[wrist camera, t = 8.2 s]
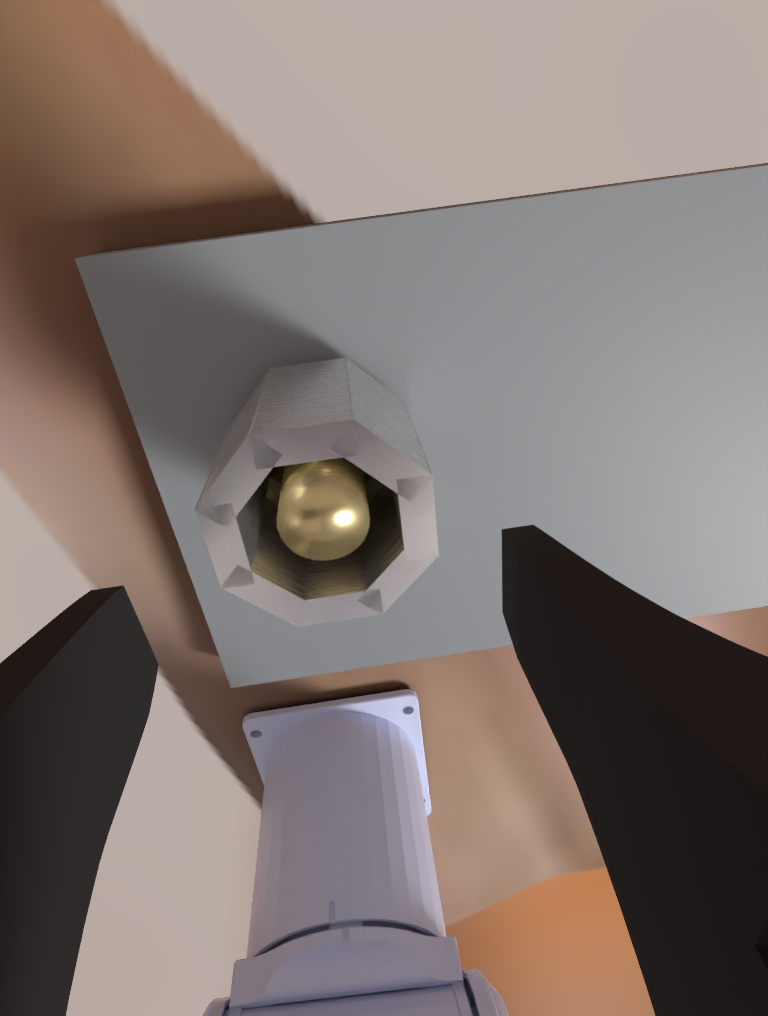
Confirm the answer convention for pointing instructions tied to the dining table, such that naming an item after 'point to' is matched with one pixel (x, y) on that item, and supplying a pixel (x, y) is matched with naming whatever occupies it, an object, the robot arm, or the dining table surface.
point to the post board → (476, 396)
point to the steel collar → (307, 438)
